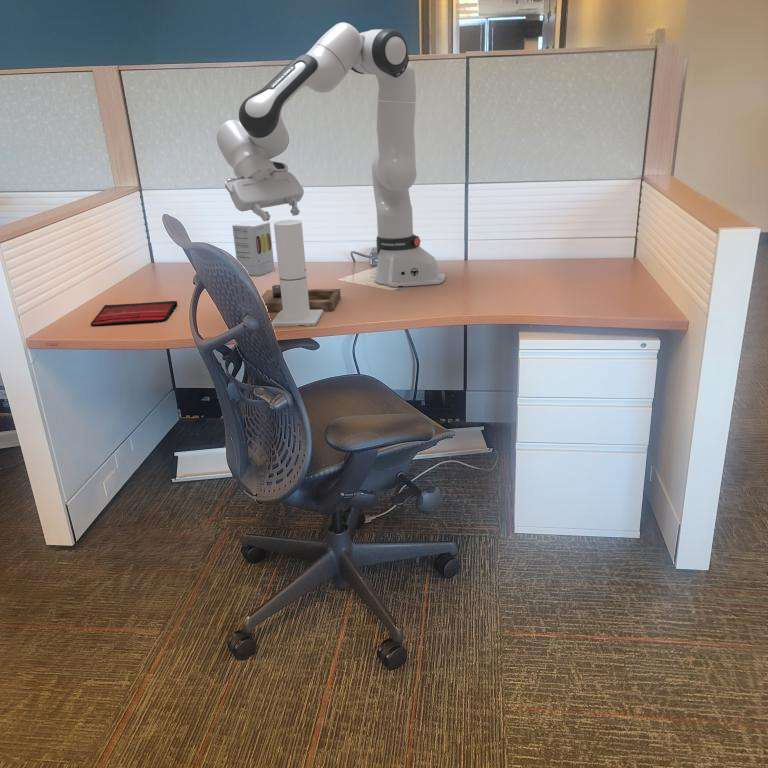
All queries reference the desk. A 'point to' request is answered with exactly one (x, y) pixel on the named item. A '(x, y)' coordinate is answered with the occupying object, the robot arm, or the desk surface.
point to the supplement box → (254, 247)
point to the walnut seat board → (275, 299)
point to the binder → (134, 313)
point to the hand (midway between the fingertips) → (282, 216)
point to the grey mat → (309, 321)
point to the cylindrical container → (292, 269)
